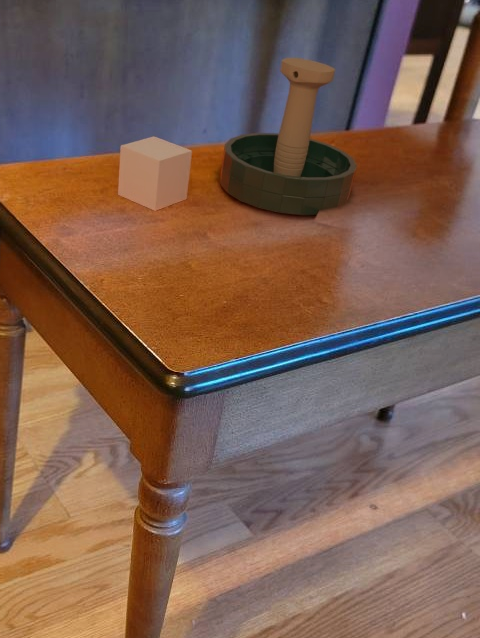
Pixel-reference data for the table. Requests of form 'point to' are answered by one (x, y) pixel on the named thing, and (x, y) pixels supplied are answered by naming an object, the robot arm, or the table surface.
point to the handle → (299, 112)
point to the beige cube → (154, 172)
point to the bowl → (286, 176)
